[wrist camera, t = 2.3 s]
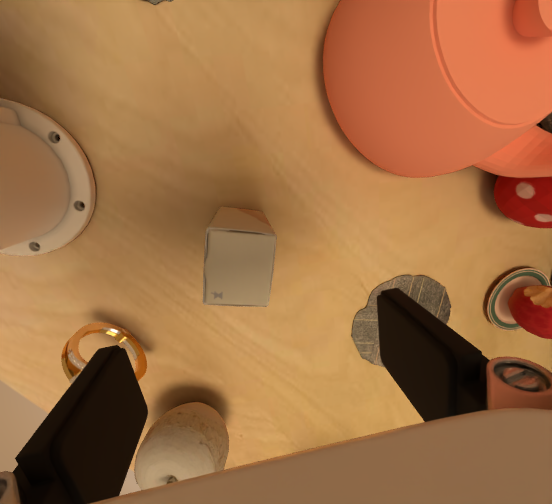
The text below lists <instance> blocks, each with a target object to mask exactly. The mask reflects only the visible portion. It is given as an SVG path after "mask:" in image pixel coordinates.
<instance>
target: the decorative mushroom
mask: <svg viewBox="0 0 552 504" xmlns="http://www.w3.org/2000/svg"><path fill="white" fill-rule="evenodd" d="M494 198H495V202H496V204H497V206H498V208H499V209H500V211H501V212H502V213H503V214H504V215H505V216H506V217H508V218H509V219H511V220H513V221H514V222H516V223H519V224H522V225H525V226H530V227H536V228H552V177H532V178H516V177H505V176H500V175H499V176H498V178H497V180H496V183H495V186H494Z"/></svg>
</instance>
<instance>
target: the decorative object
mask: <svg viewBox="0 0 552 504" xmlns="http://www.w3.org/2000/svg"><path fill="white" fill-rule="evenodd" d="M228 452H229V437H228V432H227V428H226V425H225V423H224V421H223V419H222V417H221V416H220V415H219V413H218V412H217V411H216V410H215V409H213V408H212V407H211V406H209V405H206V404H204V403H200V402H192V403H186V404H182V405H179V406H177V407H175V408H173V409H171V410H169V411H168V412H166V413H165V414H164V415H162V416H161V417H160V418H159V419H158V420H157V421H156V422H155V423H154V424H153V426H152V427H151V428H150V429H149V431H148V433H147V434H146V436H145V438H144V440H143V441H142V443H141V445H140V447H139V450H138V452H137V455H136V461H135V468H134V473H135V479H136V482H137V484H138V485H139V487H140V489H141V490H145V489H149V488H153V487H157V486H161V485H165V484H169V483H173V482H177V481H181V480H185V479H189V478H193V477H197V476H201V475H205V474H209V473H213V472H217V471H222V470H224V466H225V462H226V459H227V455H228Z"/></svg>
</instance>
